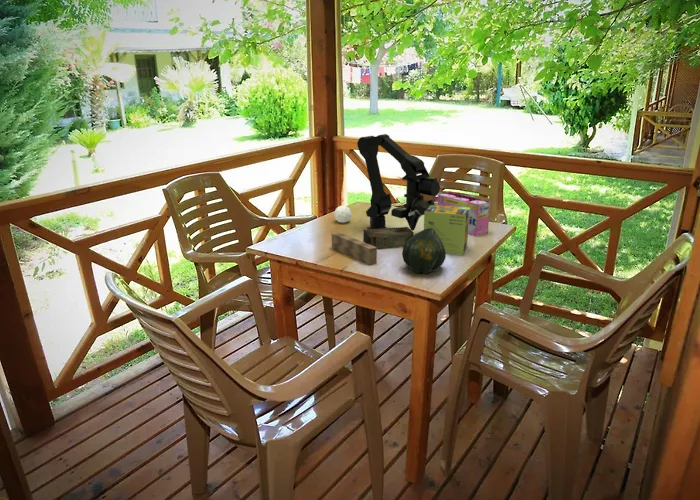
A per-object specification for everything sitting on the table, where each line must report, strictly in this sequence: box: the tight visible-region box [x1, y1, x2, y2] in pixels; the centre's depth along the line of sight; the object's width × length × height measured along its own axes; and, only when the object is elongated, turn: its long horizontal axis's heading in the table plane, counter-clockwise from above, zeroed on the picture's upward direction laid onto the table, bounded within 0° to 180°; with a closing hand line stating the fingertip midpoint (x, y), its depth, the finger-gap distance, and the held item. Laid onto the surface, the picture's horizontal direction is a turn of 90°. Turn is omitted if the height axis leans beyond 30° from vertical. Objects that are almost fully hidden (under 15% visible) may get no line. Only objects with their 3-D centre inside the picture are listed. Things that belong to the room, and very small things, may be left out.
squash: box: [401, 228, 447, 274], centre depth 169 cm, size 14×15×15 cm
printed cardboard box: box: [362, 226, 415, 250], centre depth 193 cm, size 8×19×6 cm, turn 103°
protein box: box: [423, 204, 470, 256], centre depth 187 cm, size 10×15×16 cm
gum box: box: [436, 191, 491, 237], centre depth 211 cm, size 24×8×14 cm, turn 37°
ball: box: [333, 205, 352, 224], centre depth 223 cm, size 8×8×8 cm
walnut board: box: [331, 231, 378, 266], centre depth 183 cm, size 23×3×6 cm, turn 37°
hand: (412, 230), depth 200 cm, fingers closed
